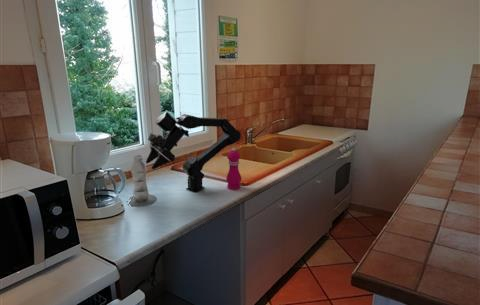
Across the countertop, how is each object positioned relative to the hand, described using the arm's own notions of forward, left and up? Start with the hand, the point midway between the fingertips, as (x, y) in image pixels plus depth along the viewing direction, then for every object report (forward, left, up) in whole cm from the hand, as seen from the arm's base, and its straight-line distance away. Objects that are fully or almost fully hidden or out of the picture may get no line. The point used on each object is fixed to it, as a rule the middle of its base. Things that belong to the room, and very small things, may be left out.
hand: (149, 165), depth 138 cm
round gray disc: (+2, +4, -15) cm, 16 cm away
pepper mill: (-23, -31, -15) cm, 41 cm away
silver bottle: (+2, +4, -15) cm, 16 cm away
